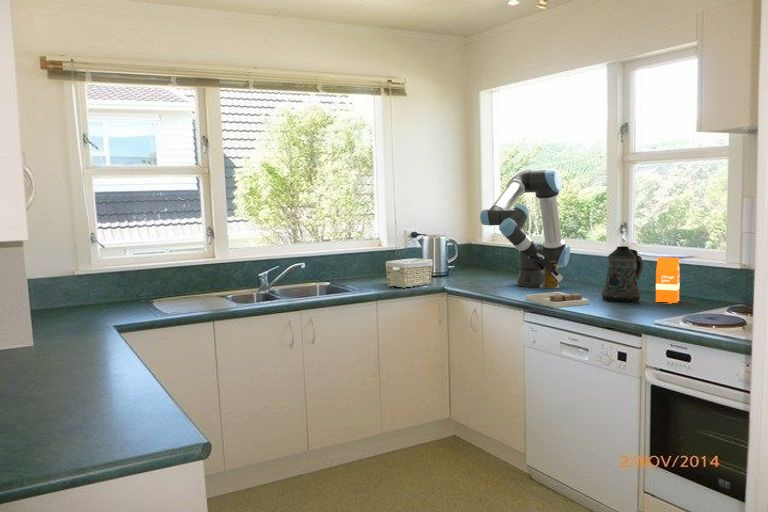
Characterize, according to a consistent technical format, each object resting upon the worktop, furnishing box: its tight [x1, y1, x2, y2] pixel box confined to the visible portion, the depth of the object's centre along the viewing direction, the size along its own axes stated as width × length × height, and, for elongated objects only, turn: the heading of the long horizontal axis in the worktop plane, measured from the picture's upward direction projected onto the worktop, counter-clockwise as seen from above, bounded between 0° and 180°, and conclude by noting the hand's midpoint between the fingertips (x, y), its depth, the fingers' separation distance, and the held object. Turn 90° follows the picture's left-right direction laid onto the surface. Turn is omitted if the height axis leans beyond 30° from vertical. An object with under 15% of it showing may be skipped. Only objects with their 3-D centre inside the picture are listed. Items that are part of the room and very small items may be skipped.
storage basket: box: [385, 257, 433, 287], centre depth 356 cm, size 24×16×15 cm
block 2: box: [559, 293, 572, 301], centre depth 282 cm, size 4×4×4 cm
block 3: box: [569, 293, 583, 301], centre depth 284 cm, size 4×4×4 cm
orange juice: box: [655, 257, 681, 304], centre depth 282 cm, size 8×9×20 cm
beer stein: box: [601, 245, 644, 304], centre depth 288 cm, size 16×19×25 cm
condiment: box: [539, 261, 560, 289], centre depth 293 cm, size 7×8×12 cm
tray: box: [525, 291, 590, 309], centre depth 289 cm, size 24×18×3 cm
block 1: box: [550, 295, 563, 302], centre depth 281 cm, size 4×4×4 cm
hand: (556, 278), depth 294 cm, fingers closed on condiment, 6 cm apart
